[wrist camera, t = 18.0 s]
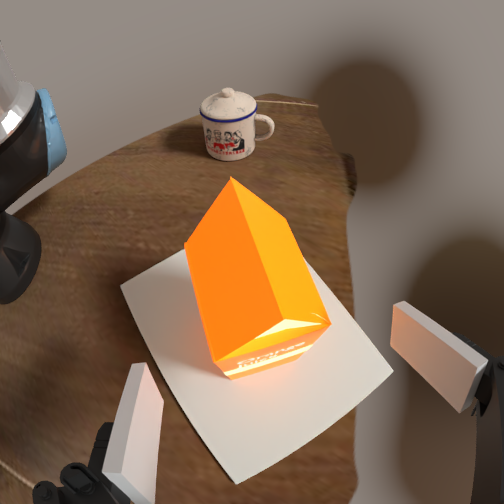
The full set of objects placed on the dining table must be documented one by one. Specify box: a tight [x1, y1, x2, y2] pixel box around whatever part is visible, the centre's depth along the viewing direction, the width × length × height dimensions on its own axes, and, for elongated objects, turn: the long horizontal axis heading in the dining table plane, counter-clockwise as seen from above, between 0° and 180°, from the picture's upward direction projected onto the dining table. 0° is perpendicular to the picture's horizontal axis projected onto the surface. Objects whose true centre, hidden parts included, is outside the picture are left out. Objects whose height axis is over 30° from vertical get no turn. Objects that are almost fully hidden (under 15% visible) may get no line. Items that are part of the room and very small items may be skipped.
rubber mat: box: [120, 249, 393, 484], centre depth 31 cm, size 28×22×1 cm
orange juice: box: [184, 177, 332, 380], centre depth 22 cm, size 8×9×20 cm
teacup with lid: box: [200, 88, 274, 161], centre depth 43 cm, size 12×9×12 cm
